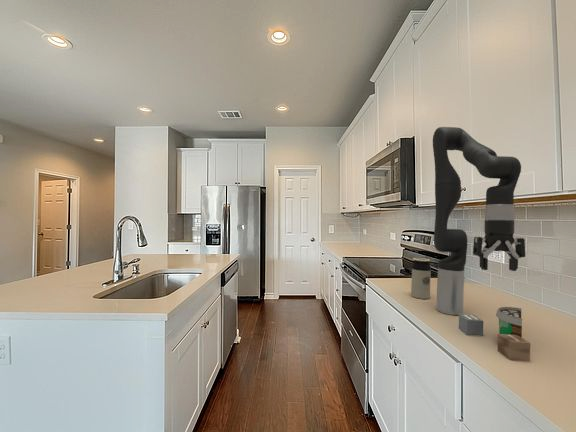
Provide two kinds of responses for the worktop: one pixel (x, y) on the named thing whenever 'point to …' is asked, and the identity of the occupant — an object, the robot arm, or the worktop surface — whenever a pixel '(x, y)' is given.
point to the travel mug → (421, 278)
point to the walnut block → (513, 347)
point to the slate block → (471, 325)
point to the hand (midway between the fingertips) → (498, 270)
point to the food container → (510, 321)
